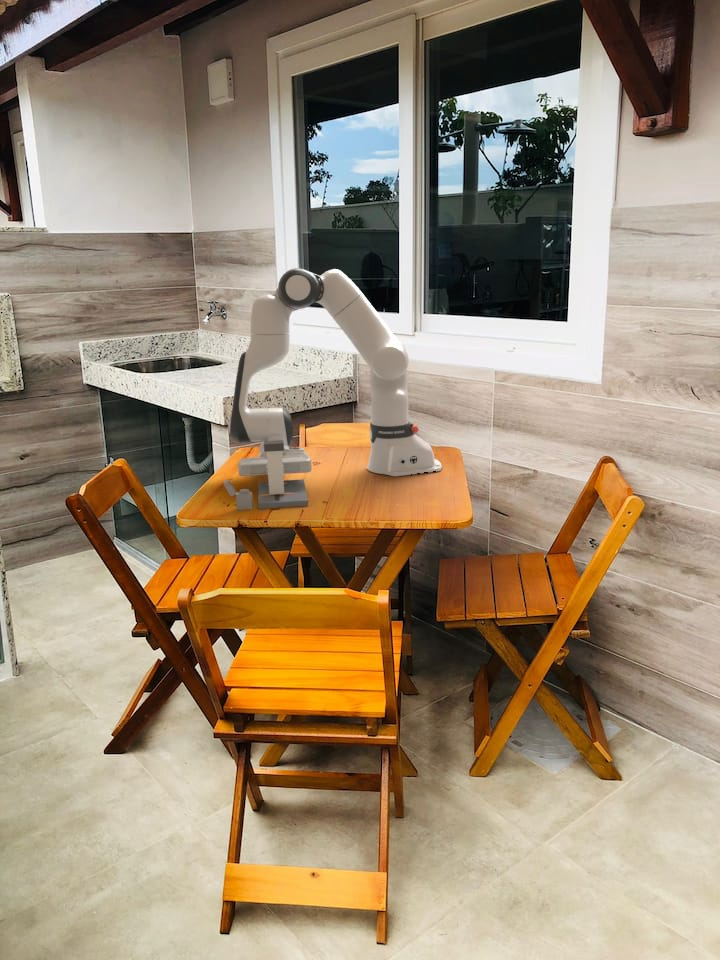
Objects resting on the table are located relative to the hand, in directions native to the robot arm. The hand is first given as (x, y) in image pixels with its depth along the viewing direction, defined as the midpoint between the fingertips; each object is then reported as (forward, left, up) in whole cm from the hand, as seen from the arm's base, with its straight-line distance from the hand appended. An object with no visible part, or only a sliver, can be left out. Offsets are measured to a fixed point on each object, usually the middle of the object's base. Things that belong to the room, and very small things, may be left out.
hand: (275, 473), depth 213 cm
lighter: (+10, +7, -7) cm, 14 cm away
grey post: (0, +2, -5) cm, 5 cm away
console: (-2, -1, -7) cm, 7 cm away
